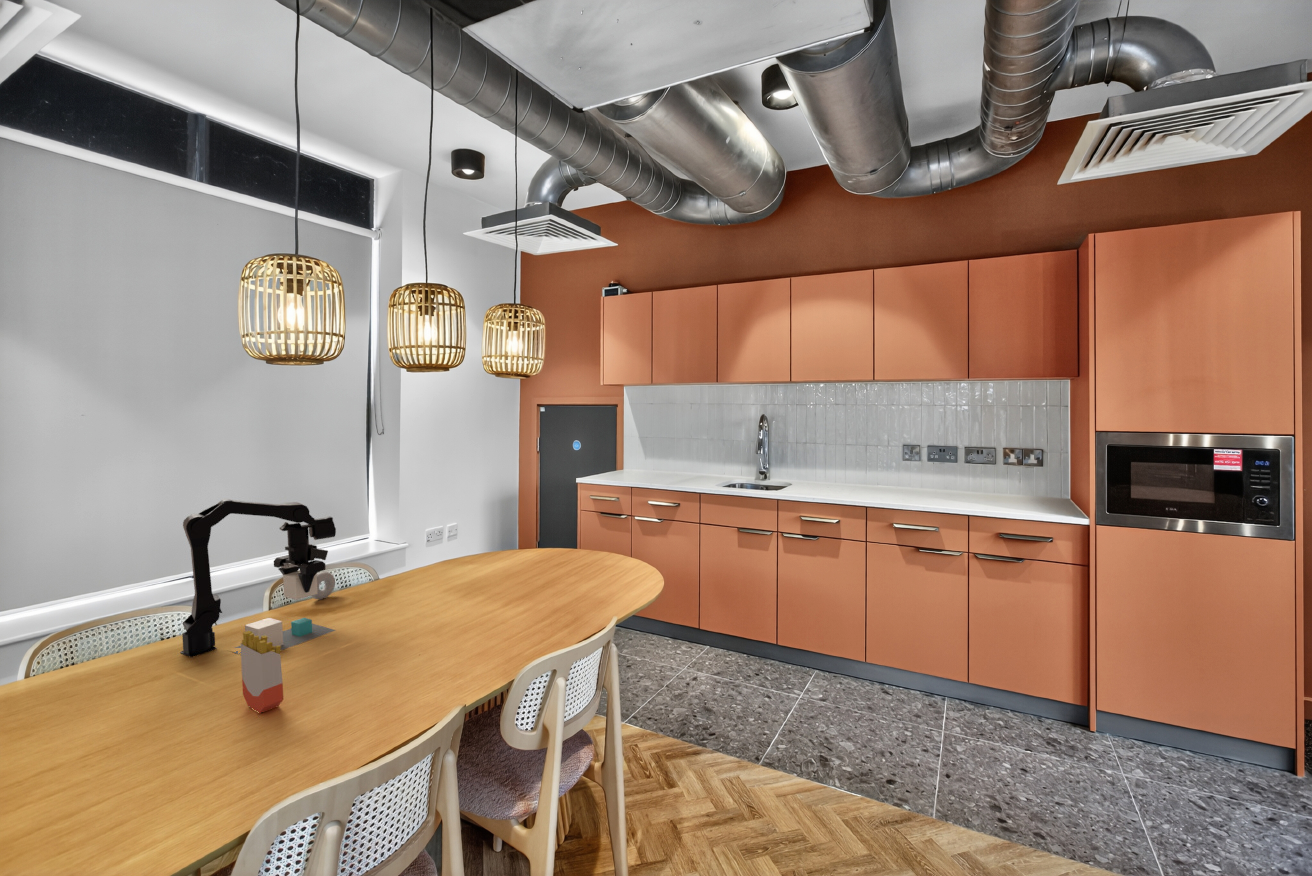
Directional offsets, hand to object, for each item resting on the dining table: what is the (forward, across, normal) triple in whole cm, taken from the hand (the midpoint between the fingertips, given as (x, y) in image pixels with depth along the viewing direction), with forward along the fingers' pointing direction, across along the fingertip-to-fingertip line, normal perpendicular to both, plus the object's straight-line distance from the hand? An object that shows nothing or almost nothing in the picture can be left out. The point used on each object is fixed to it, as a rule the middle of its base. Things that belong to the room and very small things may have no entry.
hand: (300, 590), depth 188 cm
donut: (+12, +20, -19) cm, 31 cm away
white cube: (+12, -6, +15) cm, 20 cm away
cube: (+12, -6, +4) cm, 14 cm away
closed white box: (+2, 0, 0) cm, 2 cm away
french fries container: (+12, -42, +33) cm, 55 cm away
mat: (+12, -6, +9) cm, 16 cm away
